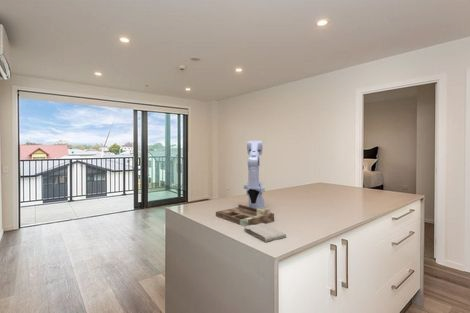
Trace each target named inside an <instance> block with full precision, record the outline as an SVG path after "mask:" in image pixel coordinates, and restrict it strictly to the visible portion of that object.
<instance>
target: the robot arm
mask: <svg viewBox="0 0 470 313" xmlns="http://www.w3.org/2000/svg"><path fill="white" fill-rule="evenodd" d="M246 148H247V149H246V150H247V154H248V158H247V170H248V182H247V183H246V184H244V185H243V189H244V190H246V196H248V207H251V208H255V209H259V208H265V198H264V196H263V193H264V192H265V187H263V183H262V182H261V181H260V165H261V163H260V162H261V161H260V160H261V158H260V156H262V154H263V141H262V140H247V142H246Z"/></svg>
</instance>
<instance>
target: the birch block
mask: <svg viewBox="0 0 470 313" xmlns="http://www.w3.org/2000/svg"><path fill="white" fill-rule="evenodd" d="M270 213H271V209H270V208H266V207H264V208H259V209H257V217H260V216H264V215H268V214H270Z"/></svg>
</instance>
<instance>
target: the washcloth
mask: <svg viewBox="0 0 470 313" xmlns="http://www.w3.org/2000/svg"><path fill="white" fill-rule="evenodd" d="M243 230H244V231H245V232H246V233H247V234H248V235H250V236H252V237H254V238H255V239H258V240H259V241H262V242H263V243H268V242H272V241H276V240H281V239H285V238H287V234H286V233H285V232H283V231H281V230H279V229H278V228H276V227H273V226H271V225H269V224H267V223H266V224H264V223H260V224H257V225H249V226H244V228H243Z"/></svg>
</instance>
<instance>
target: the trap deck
mask: <svg viewBox="0 0 470 313" xmlns="http://www.w3.org/2000/svg"><path fill="white" fill-rule="evenodd" d="M237 206H238V207H232V208H228V209H223V210H218V211H215V217H218V218H220V219H223V220H226V221H228V222H230V223H231V222H232V223H234V224H237V225H240V226H243V227H245V226H249V225H257V224H260V223H264V224H266V225H267V224H269V223H272V222H275V213H274V212H270V214H268V215H264V216H260V217H257V209H255V208H251V207H249V206H246V205H242V204H238V205H237Z"/></svg>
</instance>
